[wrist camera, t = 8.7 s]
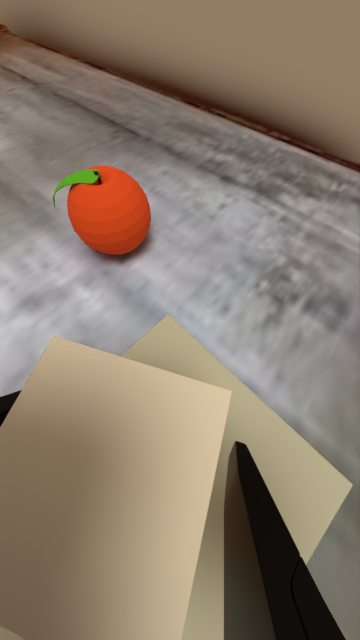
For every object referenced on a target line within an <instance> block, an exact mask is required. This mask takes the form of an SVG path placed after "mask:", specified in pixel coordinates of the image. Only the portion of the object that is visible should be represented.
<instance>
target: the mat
mask: <svg viewBox="0 0 360 640" xmlns="http://www.w3.org/2000/svg"><path fill="white" fill-rule="evenodd" d="M120 357H124V358H127V359H130V360H133V361H136V362H140V363H143V364H146V365H149V366H153V367H156V368H159V369H162V370H165V371H169V372H172V373H175V374H178V375H182V376H185V377H188V378H191V379H195V380H198V381H201V382H204V383H207V384H211V385H214V386H217V387H220V388H224V389H227V390H230V391H232V394H231V399H230V404H229V408H228V413H227V418H226V423H225V428H224V433H223V438H222V443H221V448H220V453H219V457H218V462H217V467H216V472H215V477H214V482H213V487H212V492H211V497H210V502H209V507H208V511H207V516H206V521H205V526H204V531H203V536H202V541H201V546H200V551H199V556H198V560H197V565H196V570H195V575H194V580H193V585H192V590H191V595H190V600H189V605H188V609H187V614H186V619H185V624H184V629H183V634H182V639H181V640H224V498H225V488H226V478H227V468H228V459H229V455H230V452H231V449H232V447H233V444H234V442H235V441H239V442H242V443H245V444H246V445H247V447H248V449H249V451H250V453H251V455H252V457H253V459H254V461H255V463H256V465H257V467H258V469H259V471H260V473H261V475H262V477H263V479H264V482H265V484H266V486H267V488H268V490H269V492H270V494H271V496H272V498H273V500H274V502H275V504H276V506H277V508H278V510H279V512H280V514H281V516H282V518H283V520H284V522H285V524H286V526H287V528H288V530H289V532H290V534H291V536H292V538H293V540H294V542H295V544H296V546H297V548H298V550H299V552H300V557H302V558H303V560H304V562H305V564H307V562H308V560H309V559H310V557H311V555H312V554H313V552H314V550H315V549H316V547H317V545H318V543H319V542H320V540H321V538H322V537H323V535H324V533H325V532H326V530H327V528H328V526H329V525H330V523H331V521H332V520H333V518H334V516H335V515H336V513H337V511H338V509H339V508H340V506H341V504H342V503H343V501H344V499H345V498H346V496H347V494H348V492H349V491H350V489H351V487H352V486H353V485H352V484H351V483H350V482H349V481H348V480H347V479H346V478H345V477H344V476H343V475H342V474H341V473H340V472H338V471H337V470H336V469H335V468H334V467H333V466H332V465H331V464H330V463H329V462H328V461H327V460H325V459H324V458H323V457H322V456H321V455H320V454H319V453H318V452H317V451H316V450H315V449H314V448H313V447H311V446H310V445H309V444H308V443H307V442H306V441H305V440H304V439H303V438H302V437H301V436H300V435H298V434H297V433H296V432H295V431H294V430H293V429H292V428H291V427H290V426H289V425H288V424H287V423H286V422H284V421H283V420H282V419H281V418H280V417H279V416H278V415H277V414H276V413H275V412H274V411H273V410H271V409H270V408H269V407H268V406H267V405H266V404H265V403H264V402H263V401H262V400H261V399H260V398H259V397H257V396H256V395H255V394H254V393H253V392H252V391H251V390H250V389H249V388H248V387H247V386H246V385H244V384H243V383H242V382H241V381H240V380H239V379H238V378H237V377H236V376H235V375H234V374H233V373H232V372H230V371H229V370H228V369H227V368H226V367H225V366H224V365H223V364H222V363H221V362H220V361H219V360H217V359H216V358H215V357H214V356H213V355H212V354H211V353H210V352H209V351H208V350H207V349H206V348H205V347H203V346H202V345H201V344H200V343H199V342H198V341H197V340H196V339H195V338H194V337H193V336H192V335H190V334H189V333H188V332H187V331H186V330H185V329H184V328H183V327H182V326H181V325H180V324H179V323H178V322H176V321H175V320H174V319H173V318H172V317H171V316H170V315H169V314H168V315H167V316H166V317H165V318H164V319H163V320H161V321H160V322H159V323H158V324H157V325H156V326H155V327H153V328H152V329H151V330H150V331H149V332H148V333H147V334H145V335H144V336H143V337H142V338H141V339H140V340H138V341H137V342H136V343H135V344H134V345H133V346H132V347H130V348H129V349H128V350H127V351H126V352H125V353H124V354H122V355H121V356H120ZM0 640H25V639H23V638H22V637H20V636H18V635H16V634H15V633H13V632H11V631H9V630H8V629H6V628H4V627H2V626H1V625H0Z"/></svg>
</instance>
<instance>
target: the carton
mask: <svg viewBox="0 0 360 640" xmlns="http://www.w3.org/2000/svg"><path fill="white" fill-rule="evenodd" d="M231 394H232V391H230V390H227V389H224V388H220V387H217V386H214V385H211V384H207V383H204V382H201V381H198V380H195V379H191V378H188V377H185V376H182V375H178V374H175V373H172V372H169V371H165V370H162V369H159V368H156V367H153V366H149V365H146V364H143V363H140V362H136V361H133V360H130V359H127V358H124V357H120V356H117V355H114V354H111V353H107V352H104V351H101V350H98V349H94V348H91V347H88V346H85V345H82V344H78V343H75V342H72V341H69V340H65V339H62V338H59V337H56V336H53V338H52V339H51V341H50V343H49V345H48V346H47V348H46V350H45V351H44V353H43V355H42V357H41V358H40V360H39V362H38V363H37V365H36V367H35V369H34V370H33V372H32V374H31V375H30V377H29V379H28V381H27V382H26V384H25V386H24V387H23V389H22V391H21V393H20V394H19V396H18V398H17V399H16V401H15V403H14V405H13V406H12V408H11V410H10V411H9V413H8V415H7V417H6V418H5V420H4V422H3V423H2V425H1V427H0V625H1V626H2V627H4V628H6V629H8V630H9V631H11V632H13V633H15V634H16V635H18V636H20V637H22V638H23V639H25V640H181V639H182V634H183V629H184V624H185V619H186V614H187V609H188V605H189V600H190V595H191V590H192V585H193V580H194V575H195V570H196V565H197V560H198V556H199V551H200V546H201V541H202V536H203V531H204V526H205V521H206V516H207V511H208V507H209V502H210V497H211V492H212V487H213V482H214V477H215V472H216V467H217V462H218V457H219V453H220V448H221V443H222V438H223V433H224V428H225V423H226V418H227V413H228V408H229V404H230V399H231Z"/></svg>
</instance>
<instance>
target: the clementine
mask: <svg viewBox="0 0 360 640" xmlns="http://www.w3.org/2000/svg"><path fill="white" fill-rule="evenodd" d="M71 184H72V186H71V188H70V191H69V195H68V200H67V207H68V215H69V218H70V221H71V223H72V226H73V228H74V231H75V232H76V233H77V234H78V236H79V237H80V238H81V239H82V240H83V241H84V242H85V244H87V245H88V246H90V247H91V248H93V249H95V250H97V251H98V252H102V253H105V254H111V255H119V254H125V253H127V252H130V251H132V250H133V249H135V248H136V247H137V246H138V245H139V244H140V243H141V242H142V241H143V240H144V239H145V237H146V235H147V233H148V230H149V226H150V221H151V216H150V207H149V203H148V200H147V197H146V195H145V193H144V191H143V190H142V188H141V187H140V185H139V184H138V182H137V181H136V180H134V179H133V178H132V177H131V176H129V175H128V174H127V173H125V172H124V171H122V170H119V169H116V168H113V167H109V166H95V167H92V168H89V169H87V170H84V171H79V172H76V173H73V174H71V175H69V176H67V177H66V178H65V179H64V180H63V181H61V183H60V184H59V185H58V186H57V188H56V190H55V193H56V192H57V191H58V190H59V189H60V188H62V187H64V186H66V185H71ZM55 193H54V196H55ZM54 196H53V202H54V207H55V200H54Z"/></svg>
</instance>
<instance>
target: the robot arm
mask: <svg viewBox="0 0 360 640" xmlns="http://www.w3.org/2000/svg"><path fill="white" fill-rule="evenodd" d="M21 391H22V390H21ZM21 391H17V392H14V393H11V394H8V395H5V396H2V397H0V427H1V425H2V423H3V422H4V420H5V418H6V417H7V415H8V413H9V411H10V410H11V408H12V406H13V405H14V403H15V401H16V399H17V398H18V396H19V394H20V393H21ZM224 640H346V639H345V638H344V636H343V634H342V632H341V630H340V629H339V627H338V625H337V623H336V621H335V620H334V618H333V616H332V614H331V612H330V611H329V609H328V607H327V605H326V603H325V602H324V600H323V598H322V596H321V594H320V592H319V590H318V588H317V586H316V584H315V582H314V580H313V578H312V576H311V574H310V572H309V570H308V568H307V566H306V564H305V562H304V560H303V558H302V557H300V552H299V550H298V548H297V546H296V544H295V542H294V540H293V538H292V536H291V534H290V532H289V530H288V528H287V526H286V524H285V522H284V520H283V518H282V516H281V514H280V512H279V510H278V508H277V506H276V504H275V502H274V500H273V498H272V496H271V494H270V492H269V490H268V488H267V486H266V484H265V482H264V479H263V477H262V475H261V473H260V471H259V469H258V467H257V465H256V463H255V461H254V459H253V457H252V455H251V453H250V451H249V449H248V447H247V445H246V444H245V443H242V442H239V441H235V442H234V444H233V447H232V449H231V452H230V455H229V459H228V468H227V478H226V488H225V498H224Z"/></svg>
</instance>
